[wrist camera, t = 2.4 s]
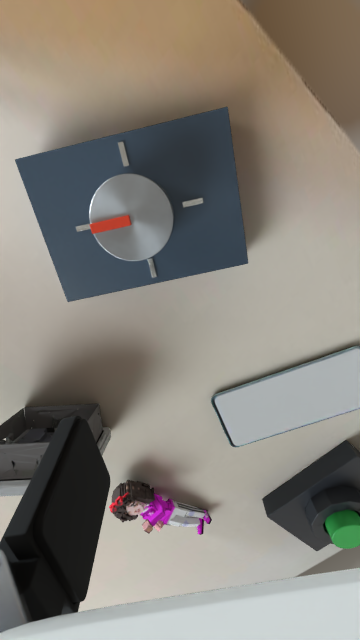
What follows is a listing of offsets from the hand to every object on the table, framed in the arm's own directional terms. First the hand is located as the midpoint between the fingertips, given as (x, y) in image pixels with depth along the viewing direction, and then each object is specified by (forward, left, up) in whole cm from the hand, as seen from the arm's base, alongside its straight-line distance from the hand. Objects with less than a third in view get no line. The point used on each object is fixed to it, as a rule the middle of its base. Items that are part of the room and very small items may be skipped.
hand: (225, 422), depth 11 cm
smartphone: (-7, +14, -17) cm, 23 cm away
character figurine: (+9, +25, -18) cm, 31 cm away
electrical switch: (+16, +11, -18) cm, 26 cm away
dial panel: (+3, -6, -17) cm, 19 cm away
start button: (-10, +28, -14) cm, 32 cm away
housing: (-10, +28, -17) cm, 34 cm away
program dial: (+3, -6, -14) cm, 16 cm away
